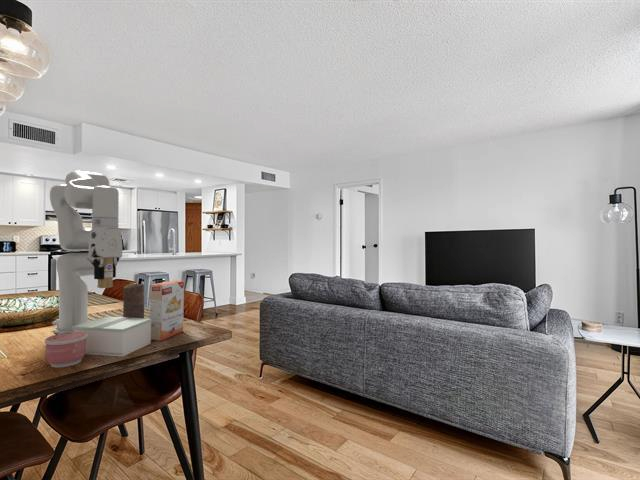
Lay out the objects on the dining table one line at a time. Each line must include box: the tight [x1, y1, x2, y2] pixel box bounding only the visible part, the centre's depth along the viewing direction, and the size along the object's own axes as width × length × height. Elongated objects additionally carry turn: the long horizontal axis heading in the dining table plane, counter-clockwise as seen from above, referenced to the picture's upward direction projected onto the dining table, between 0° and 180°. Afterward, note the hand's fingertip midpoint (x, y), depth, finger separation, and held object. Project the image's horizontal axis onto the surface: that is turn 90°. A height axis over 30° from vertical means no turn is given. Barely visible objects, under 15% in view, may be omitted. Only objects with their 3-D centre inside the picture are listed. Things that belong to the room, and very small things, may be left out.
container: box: [44, 332, 87, 368], centre depth 105 cm, size 10×10×8 cm
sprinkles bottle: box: [97, 256, 114, 289], centre depth 115 cm, size 5×5×14 cm
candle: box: [122, 283, 145, 318], centre depth 135 cm, size 8×7×20 cm
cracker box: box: [148, 280, 185, 342], centre depth 134 cm, size 14×6×21 cm, turn 168°
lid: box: [72, 316, 152, 332], centre depth 119 cm, size 19×14×1 cm
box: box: [74, 322, 152, 358], centre depth 119 cm, size 18×14×8 cm
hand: (105, 277), depth 115 cm, fingers closed on sprinkles bottle, 4 cm apart
